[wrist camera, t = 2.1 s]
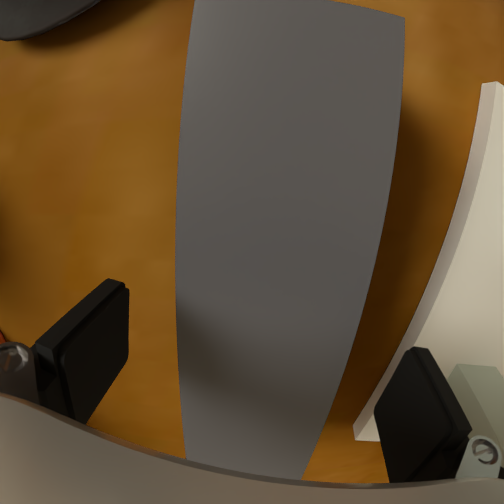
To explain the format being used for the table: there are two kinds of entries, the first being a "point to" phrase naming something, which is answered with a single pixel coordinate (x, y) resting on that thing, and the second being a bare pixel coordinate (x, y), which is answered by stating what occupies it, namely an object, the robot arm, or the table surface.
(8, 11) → the casserole
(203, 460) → the bar
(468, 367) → the stand
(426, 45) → the table surface
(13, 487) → the robot arm
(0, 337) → the coffee cup
